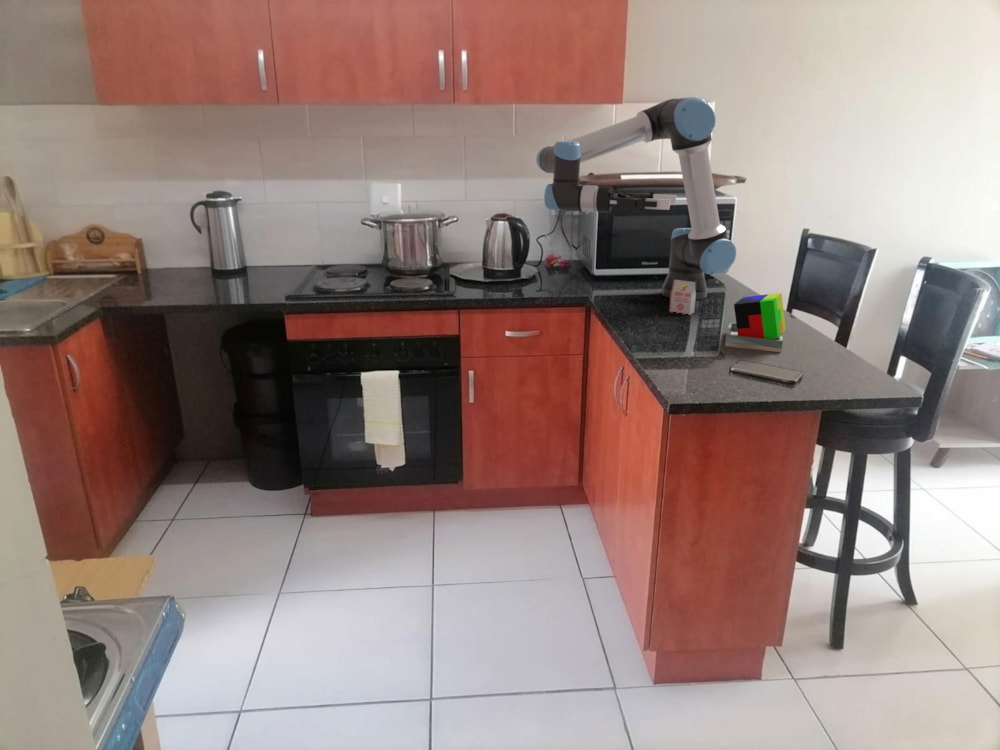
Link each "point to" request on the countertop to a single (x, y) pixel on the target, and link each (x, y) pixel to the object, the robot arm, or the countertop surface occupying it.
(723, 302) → the countertop surface
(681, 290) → the tea bag
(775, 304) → the puzzle toy
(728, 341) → the shallow tray
